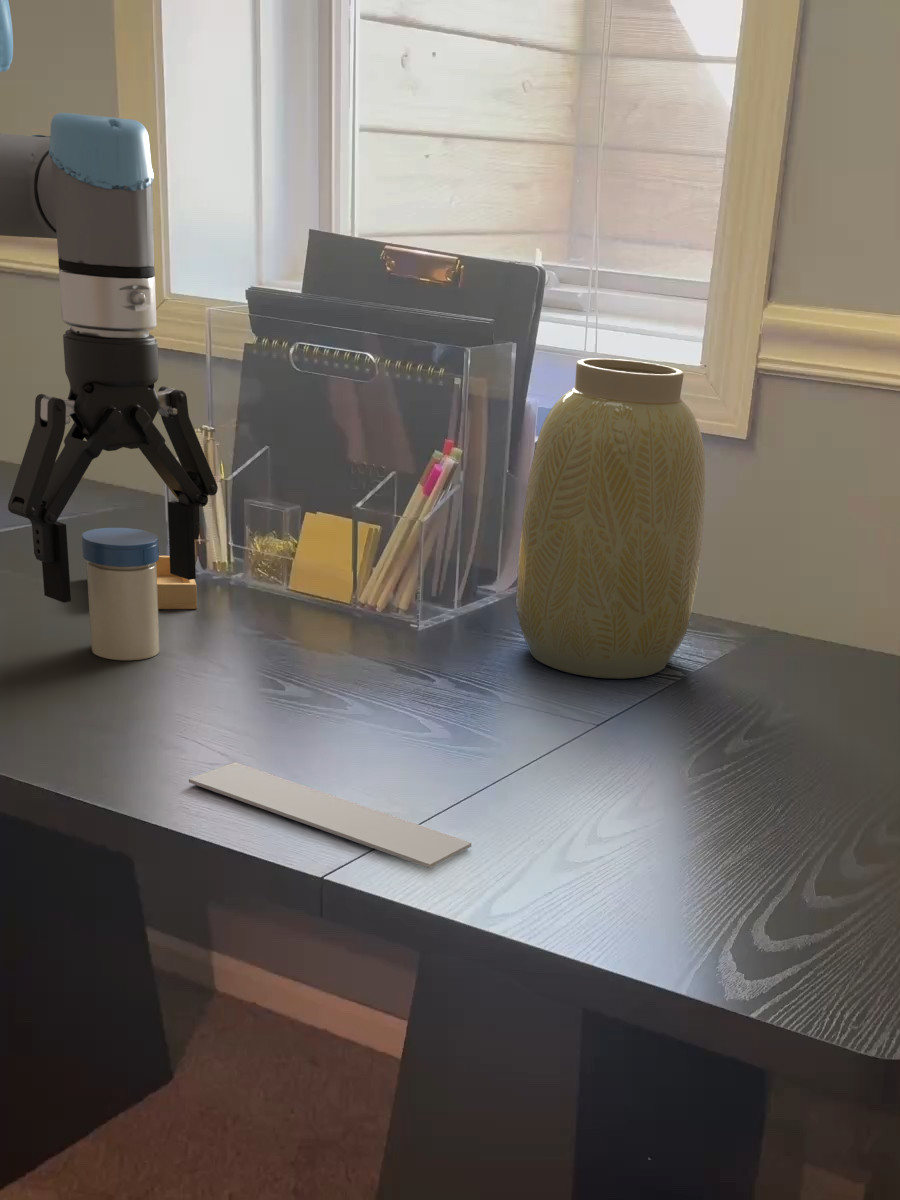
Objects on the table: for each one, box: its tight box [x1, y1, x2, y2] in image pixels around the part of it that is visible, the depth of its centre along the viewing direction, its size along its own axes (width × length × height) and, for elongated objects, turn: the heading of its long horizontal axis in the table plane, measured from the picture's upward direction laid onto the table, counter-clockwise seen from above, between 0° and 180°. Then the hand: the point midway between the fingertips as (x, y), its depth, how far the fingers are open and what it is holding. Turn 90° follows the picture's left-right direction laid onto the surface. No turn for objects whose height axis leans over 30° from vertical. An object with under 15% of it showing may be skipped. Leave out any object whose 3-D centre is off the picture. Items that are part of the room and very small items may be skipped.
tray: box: [156, 555, 198, 610], centre depth 149 cm, size 11×10×2 cm
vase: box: [515, 358, 706, 680], centre depth 138 cm, size 17×17×27 cm
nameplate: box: [188, 761, 472, 869], centre depth 105 cm, size 22×1×5 cm
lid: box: [81, 527, 160, 567], centre depth 129 cm, size 7×6×2 cm
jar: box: [85, 560, 161, 661], centre depth 131 cm, size 6×6×10 cm
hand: (122, 587), depth 131 cm, fingers open, 13 cm apart
